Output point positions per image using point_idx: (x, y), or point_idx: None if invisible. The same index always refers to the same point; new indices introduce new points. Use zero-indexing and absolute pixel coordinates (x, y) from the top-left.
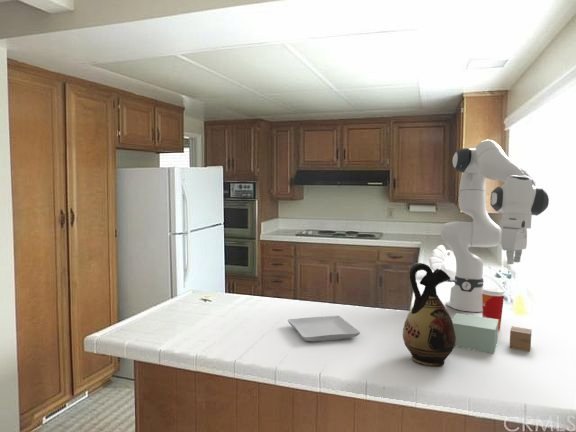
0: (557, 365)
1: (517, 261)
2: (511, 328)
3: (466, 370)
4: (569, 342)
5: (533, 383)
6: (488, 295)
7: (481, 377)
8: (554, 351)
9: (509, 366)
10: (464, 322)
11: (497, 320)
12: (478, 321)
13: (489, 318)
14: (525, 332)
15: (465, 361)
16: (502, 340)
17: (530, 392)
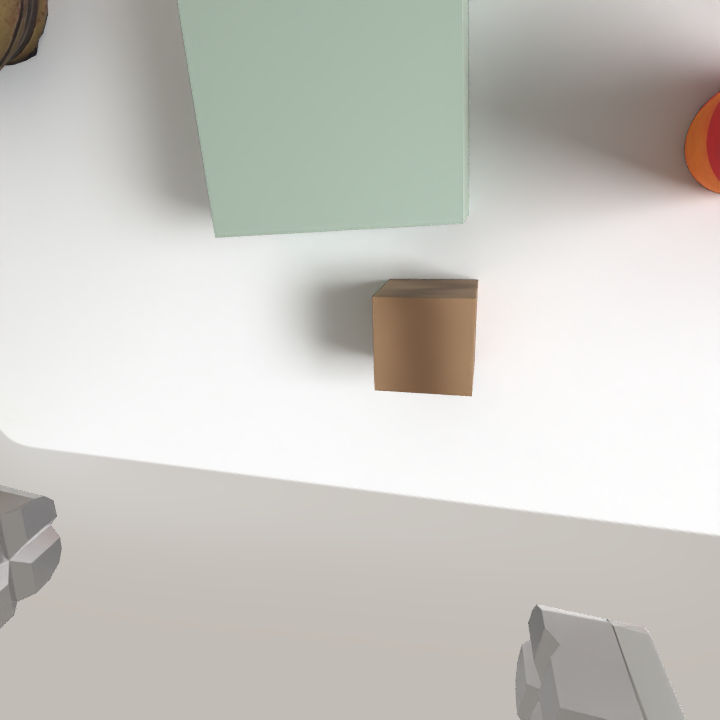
0: (289, 443)
1: (525, 669)
2: (420, 299)
3: (22, 162)
4: (647, 519)
5: (83, 369)
6: None
7: (8, 222)
8: (456, 448)
9: (166, 296)
10: (239, 32)
11: (429, 221)
12: (323, 112)
13: (449, 164)
14: (385, 368)
15: (97, 136)
16: (496, 236)
17: (19, 361)
